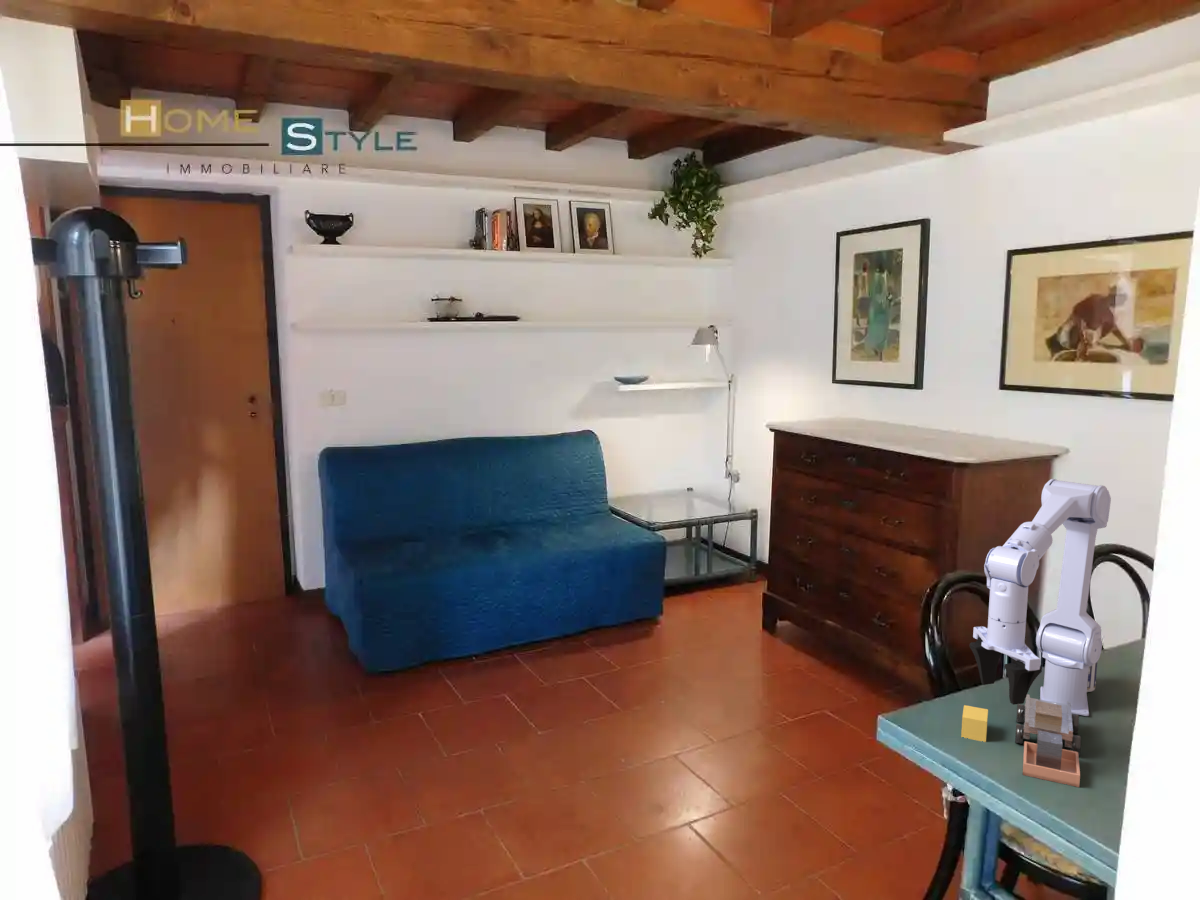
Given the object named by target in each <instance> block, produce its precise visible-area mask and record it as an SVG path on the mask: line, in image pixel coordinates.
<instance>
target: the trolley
mask: <svg viewBox="0 0 1200 900" xmlns="http://www.w3.org/2000/svg"><path fill="white" fill-rule="evenodd" d="M1016 705H1017V706H1016V720H1015V722H1017V723H1016V724H1015V735H1014V736H1015V738H1014V743H1016V744H1020V745H1024V739H1025V740H1030V738H1031V737H1030V736H1031V734H1032V735H1033V734H1034V735H1038V731H1043V732H1049V733H1054V734H1059V735H1062V741H1063V740H1064V747H1065V748H1070V751H1075V752H1078V757H1079V756H1080V755H1081V745H1082V744H1081V739H1082V737H1081V736H1080V735H1075V734H1078V733H1079V725H1080V724H1079V723H1080V719H1079V717H1080V715H1078V714H1072V713H1071V702H1068V701H1067V704H1062V703H1056V702H1051V701H1045V700H1040V698H1039V699H1038V698H1033V697H1030V694H1028V693H1027V696H1026V698H1025V702H1024V704H1016ZM1020 723H1022V724H1020Z"/></svg>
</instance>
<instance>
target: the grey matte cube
mask: <svg viewBox="0 0 1200 900" xmlns="http://www.w3.org/2000/svg"><path fill="white" fill-rule="evenodd" d="M1036 737H1037V739H1036V744H1037V749H1036V765H1038V766H1043V767H1047V768H1052V769H1057V770H1061V758H1062V749H1063V739H1062V735H1059V734H1054V733H1049V732H1043V731H1038V734H1037V736H1036Z"/></svg>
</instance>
